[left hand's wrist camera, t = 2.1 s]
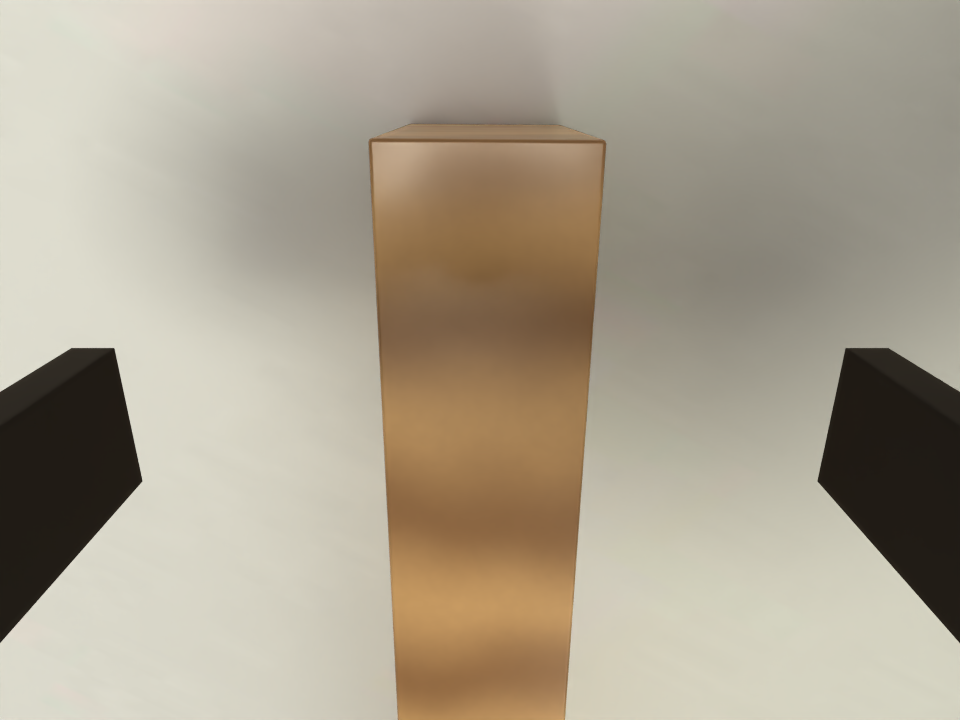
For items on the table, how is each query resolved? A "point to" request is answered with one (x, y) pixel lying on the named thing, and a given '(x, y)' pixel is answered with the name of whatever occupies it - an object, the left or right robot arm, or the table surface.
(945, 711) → the table surface
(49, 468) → the left robot arm
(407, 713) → the post
